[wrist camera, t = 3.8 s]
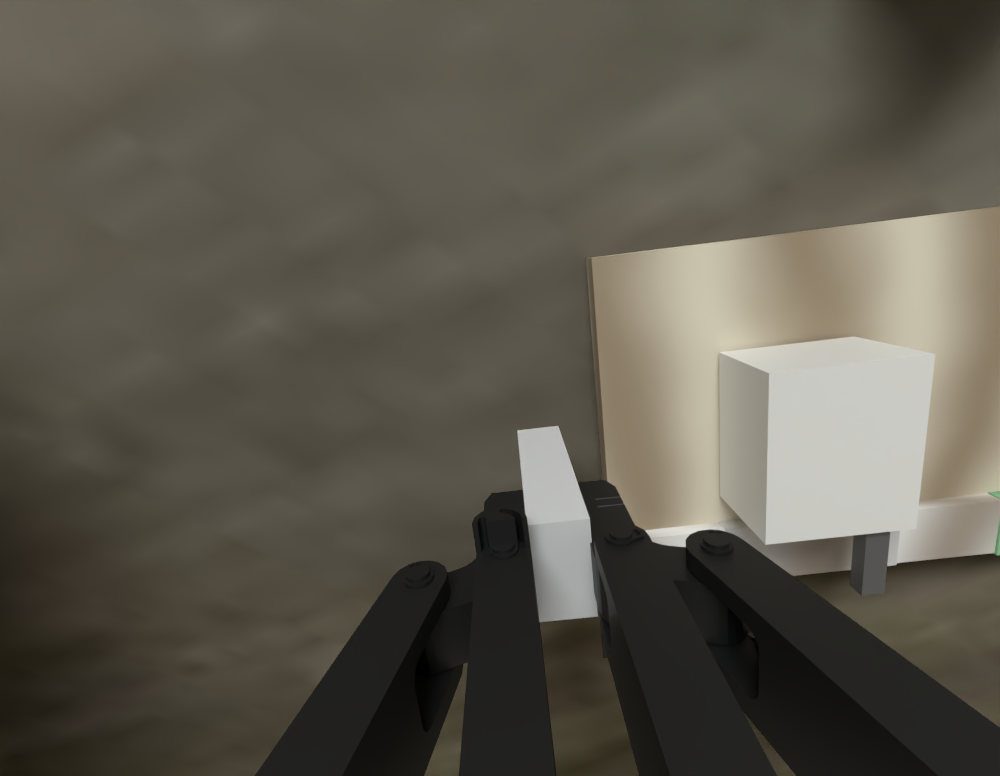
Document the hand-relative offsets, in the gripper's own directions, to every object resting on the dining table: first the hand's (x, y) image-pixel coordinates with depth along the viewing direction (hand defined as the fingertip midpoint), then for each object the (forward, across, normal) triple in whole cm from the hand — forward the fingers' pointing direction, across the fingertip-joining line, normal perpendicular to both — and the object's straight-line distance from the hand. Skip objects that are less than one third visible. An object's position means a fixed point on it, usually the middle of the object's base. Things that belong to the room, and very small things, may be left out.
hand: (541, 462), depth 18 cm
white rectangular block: (+1, +10, -1) cm, 10 cm away
